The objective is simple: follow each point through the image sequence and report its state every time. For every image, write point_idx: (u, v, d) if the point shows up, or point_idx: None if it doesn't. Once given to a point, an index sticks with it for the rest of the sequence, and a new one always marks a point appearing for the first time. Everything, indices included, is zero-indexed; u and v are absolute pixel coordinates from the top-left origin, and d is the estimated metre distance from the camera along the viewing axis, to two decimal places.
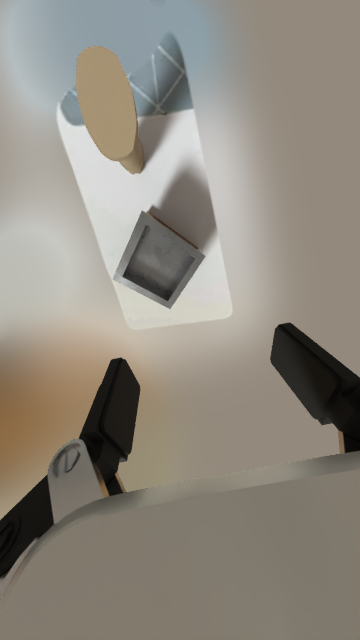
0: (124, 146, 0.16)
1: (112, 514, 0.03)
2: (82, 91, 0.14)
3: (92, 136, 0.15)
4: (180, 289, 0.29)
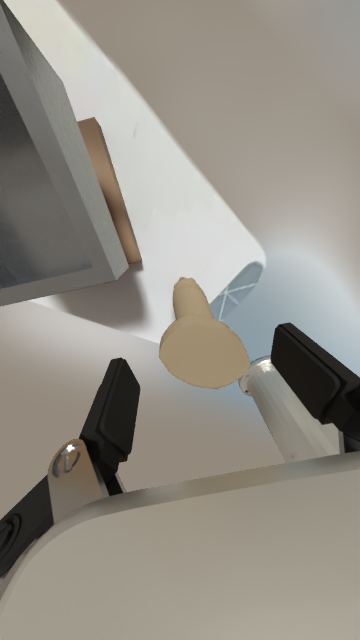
0: (169, 351, 0.10)
1: (112, 514, 0.03)
2: (238, 351, 0.10)
3: (212, 328, 0.09)
4: None
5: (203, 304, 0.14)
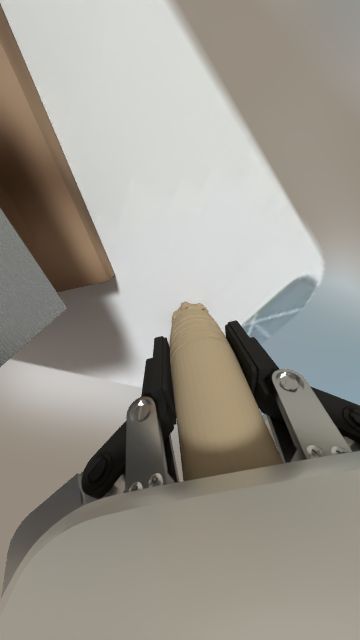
0: None
1: (112, 514, 0.03)
2: None
3: None
4: None
5: (250, 415, 0.05)
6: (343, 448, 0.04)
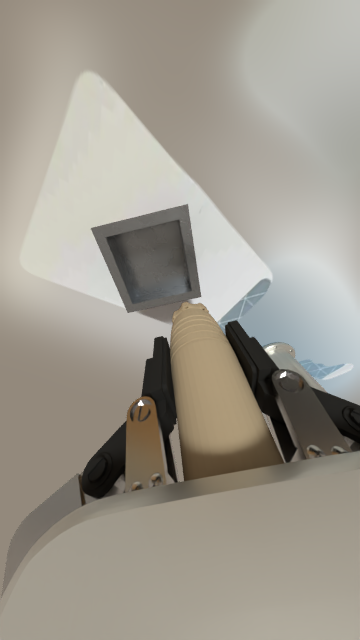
0: None
1: (112, 514, 0.03)
2: None
3: None
4: (110, 266, 0.20)
5: (251, 415, 0.05)
6: (343, 448, 0.04)
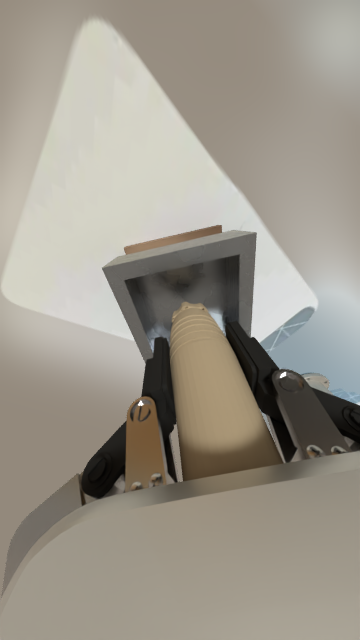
0: None
1: (112, 514, 0.03)
2: None
3: None
4: (129, 316, 0.14)
5: (251, 416, 0.05)
6: (343, 448, 0.04)
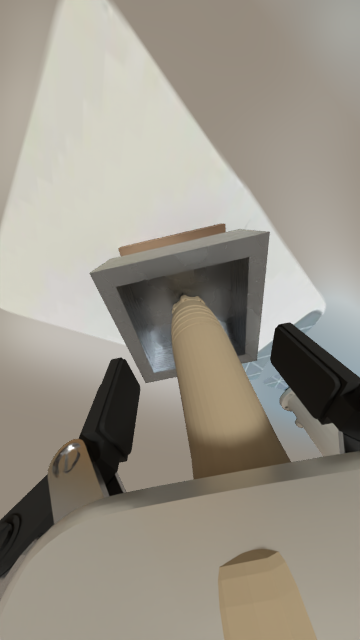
0: None
1: (112, 514, 0.03)
2: None
3: None
4: (123, 327, 0.12)
5: (239, 378, 0.07)
6: None
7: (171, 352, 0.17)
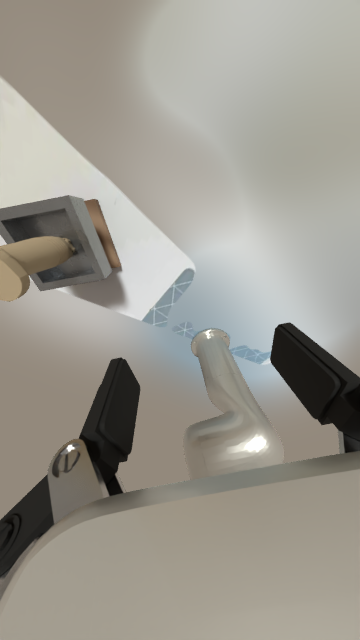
0: None
1: (112, 514, 0.03)
2: None
3: None
4: None
5: (23, 245, 0.18)
6: None
7: (61, 276, 0.28)
